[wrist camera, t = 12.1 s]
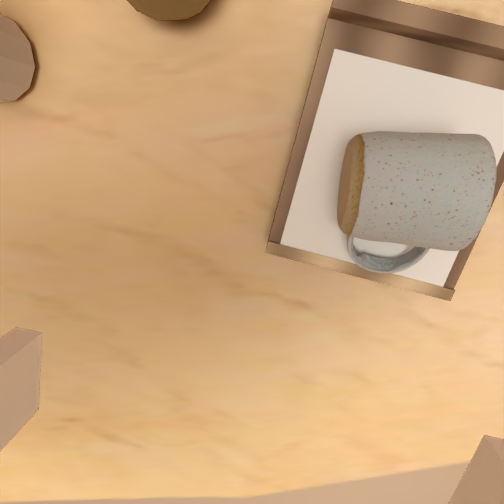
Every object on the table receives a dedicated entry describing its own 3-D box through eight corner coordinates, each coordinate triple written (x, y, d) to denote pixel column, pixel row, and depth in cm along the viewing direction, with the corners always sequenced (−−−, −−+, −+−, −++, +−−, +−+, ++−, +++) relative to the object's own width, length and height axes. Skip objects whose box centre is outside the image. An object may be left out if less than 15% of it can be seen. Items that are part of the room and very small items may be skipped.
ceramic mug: (340, 131, 27) (359, 127, 19) (453, 135, 26) (518, 133, 19) (326, 263, 30) (338, 302, 23) (426, 269, 29) (472, 313, 22)
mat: (280, 243, 30) (280, 244, 30) (334, 49, 25) (334, 48, 25) (441, 286, 29) (442, 286, 29) (526, 96, 25) (528, 96, 25)
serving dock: (267, 242, 33) (264, 258, 28) (328, 14, 27) (337, -15, 22) (434, 286, 33) (459, 310, 28) (532, 63, 27) (584, 45, 22)
